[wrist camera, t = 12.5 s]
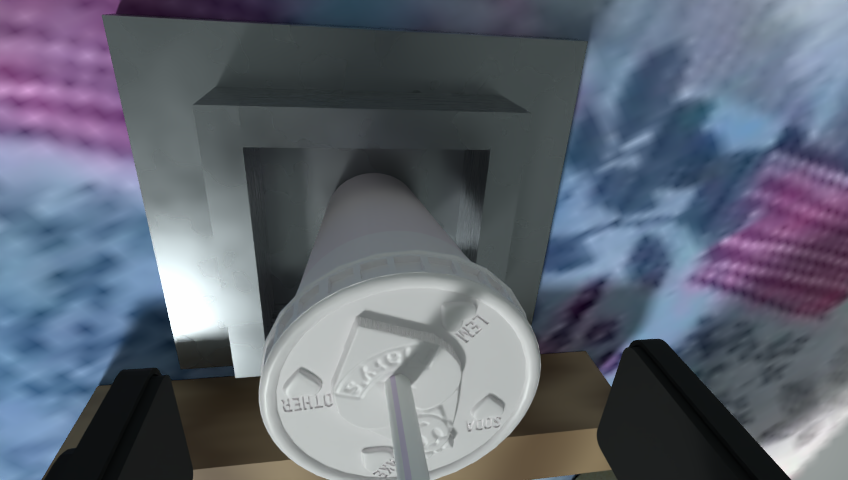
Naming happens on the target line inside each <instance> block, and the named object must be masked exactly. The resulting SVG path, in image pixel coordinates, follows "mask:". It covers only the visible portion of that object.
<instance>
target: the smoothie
mask: <svg viewBox="0 0 848 480" xmlns="http://www.w3.org/2000/svg"><path fill="white" fill-rule="evenodd" d="M540 369H541V358H540V350H539V345H538V342H537V339H536V336H535V333H534V331H533V329H532V327H531V325H530V324H529V322H528V320H527V317H526V313H525V311H524V310H523V308H522V306H521V305H520V303H519V301H518V300H517V298H516V296H515V295H514V293H513V291H512V290H511V288H509V287H508V286H507V285H506V284H505V283H503V282H502V281H501V280H500V279H499V278H498V277H496V276H495V275H494V274H493V273H492V272H490V271H489V270H488V269H487V268H485V267H482V266H480V265H478V264H475V263H473V262H471V261H470V260H469V259H468V258H467V257H466V256H465V255H464V253H463V252H462V251H461V250H460V249H459V247H458V246H457V245H456V244H455V243H454V241H453V240H452V239H451V238H450V237H449V235H448V234H447V233H446V232H445V231H444V230H443V228H442V227H441V226H440V225H439V224H438V222H437V221H436V220H435V219H434V218H433V216H432V215H431V214H430V213H429V212H428V210H427V209H426V208H425V207H424V206H423V204H422V203H421V202H420V201H419V200H418V198H417V197H416V196H415V195H414V194H413V192H412V191H411V190H410V189H409V188H408V187H407V186H406V185H405V184H404V183H403V182H402V181H400V180H398V179H397V178H395V177H392V176H390V175H386V174H381V173H366V174H361V175H358V176H355V177H353V178H351V179H349V180H347V181H346V182H344V183H343V184H342V185H340V186H339V187H338V188H337V190H336V191H335V192H334V193H333V195H332V197H331V198H330V201H329V203H328V206H327V209H326V212H325V214H324V217H323V220H322V223H321V226H320V229H319V232H318V234H317V237H316V240H315V243H314V246H313V249H312V251H311V254H310V257H309V260H308V263H307V266H306V269H305V271H304V274H303V277H302V280H301V283H300V286H299V288H298V291H297V293H296V296H295V297H294V298H293V299H292V300H291V301H290V302H289V303H288V304H287V305H286V306H285V307H284V308H283V309H282V311H281V312H280V313H279V315H278V317H277V319H276V321H275V323H274V325H273V327H272V329H271V330H270V332H269V334H268V336H267V338H266V340H265V343H264V350H263V357H262V364H261V371H260V373H261V378H260V385H259V406H260V412H261V416H262V419H263V423H264V425H265V427H266V429H267V431H268V433H269V435H270V436H271V438H272V440H273V441H274V443H275V444H276V445H277V446H278V447H279V449H280V450H281V451H282V452H283V453H284V454H285V455H286V456H287V457H288V458H290V459H291V460H292V461H294V462H295V463H296V464H298V465H299V466H301V467H303V468H304V469H306V470H308V471H310V472H312V473H314V474H315V475H317V476H320V477H323V478H326V479H329V480H435V479H438V478H441V477H443V476H446V475H449V474H451V473H454V472H457V471H458V470H460V469H462V468H464V467H466V466H468V465H470V464H472V463H474V462H476V461H477V460H479V459H480V458H482V457H483V456H485V455H486V454H487V453H489V452H490V451H492V450H493V449H495V448H496V447H497V446H498V445H499V444H500V443H501V442H502V441H503V440H504V439H505V438H506V437H507V436H509V435H510V434H511V433H512V431H513V430H514V429H515V427H516V426H517V425H518V424H519V423H520V421H521V420H522V418H523V417H524V416H525V414H526V412H527V410H528V409H529V407H530V405H531V403H532V401H533V398H534V396H535V393H536V390H537V387H538V383H539V378H540Z"/></svg>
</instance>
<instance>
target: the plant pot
mask: <svg viewBox="0 0 848 480" xmlns="http://www.w3.org/2000/svg"><path fill="white" fill-rule="evenodd" d="M575 480H617V478H616V476H615V475H614V473H613V471H612V470H606V471H598V472H590V473H582V474H580V475H579V476H578V477H577V478H576V479H575Z"/></svg>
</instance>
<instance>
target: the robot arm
mask: <svg viewBox="0 0 848 480" xmlns="http://www.w3.org/2000/svg"><path fill="white" fill-rule="evenodd" d="M597 442H598V445H599V447H600V450H601V451H602V453H603V455H604V457H605V458H606V460H607V462H608V464H609V466H610V467H611V469H612V471H613V473H614V475H615V476H616V478H617V480H791V479H790V478H789V477H788V476H787V475H786V474H785V472H784V471H783V470H782V469H781V468H780V467H779V466H778V465H777V464H776V463H775V461H774V460H773V459H772V458H771V457H770V456H769V455H768V454H767V453H766V452H765V450H764V449H763V448H762V447H761V446H760V445H759V444H758V443H757V442H756V441H755V440H754V438H753V437H752V436H751V435H750V434H749V433H748V432H747V431H746V430H745V429H744V427H743V426H742V425H741V424H740V423H739V422H738V421H737V420H736V419H735V418H734V416H733V415H732V414H731V413H730V412H729V411H728V410H727V409H726V408H725V407H724V406H723V404H722V403H721V402H720V401H719V400H718V399H717V398H716V397H715V396H714V395H713V393H712V392H711V391H710V390H709V389H708V388H707V387H706V386H705V385H704V384H703V382H702V381H701V380H700V379H699V378H698V377H697V376H696V375H695V374H694V373H693V372H692V370H691V369H690V368H689V367H688V366H687V365H686V364H685V363H684V362H683V361H682V359H681V358H680V357H679V356H678V355H677V354H676V353H675V352H674V351H673V350H672V348H671V347H670V346H669V345H668V344H667V343H666V342H665V341H663V340H661V339H647V340H635V341H633V342H632V343H631V344H630V346H629V347H627V348H626V349H625V350H624V351H623V354H622V357H621V360H620V363H619V366H618V369H617V372H616V375H615V378H614V381H613V384H612V387H611V390H610V393H609V396H608V399H607V402H606V405H605V408H604V411H603V414H602V417H601V420H600V423H599V426H598V429H597ZM44 480H193V466H192V462H191V458H190V454H189V450H188V446H187V442H186V438H185V434H184V430H183V426H182V422H181V418H180V414H179V410H178V406H177V402H176V398H175V394H174V390H173V386H172V382H171V379H170V377H169V376H168V375H161V373H160V371H159V370H158V369H157V368H145V369H127V370H122V371H120V372H119V374H118V375H117V377H116V378H115V380H114V382H113V384H112V385H111V387H110V389H109V391H108V392H107V394H106V396H105V398H104V399H103V401H102V403H101V405H100V406H99V408H98V410H97V412H96V413H95V415H94V417H93V419H92V420H91V422H90V424H89V426H88V427H87V429H86V431H85V433H84V434H83V436H82V438H81V440H80V441H79V443H78V445H77V447H76V448H71V449H67V450H66V451H64V452H63V453H62V454H61V455H60V456H59V457H58V458H57V460H56V461H55V462H54V464H53V465H52V467H51V469H50V470H49V472H48V474H47V476H46V477H45V479H44Z"/></svg>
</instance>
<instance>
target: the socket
mask: <svg viewBox="0 0 848 480" xmlns="http://www.w3.org/2000/svg"><path fill="white" fill-rule="evenodd" d="M102 18H103V23H104V27H105V32H106V36H107V41H108V45H109V50H110V54H111V59H112V63H113V68H114V72H115V77H116V81H117V86H118V90H119V95H120V99H121V104H122V108H123V113H124V117H125V122H126V126H127V131H128V135H129V140H130V144H131V149H132V153H133V158H134V162H135V166H136V171H137V175H138V180H139V184H140V189H141V193H142V198H143V202H144V207H145V211H146V216H147V220H148V225H149V229H150V234H151V238H152V243H153V247H154V252H155V256H156V261H157V265H158V270H159V274H160V279H161V283H162V288H163V292H164V297H165V301H166V306H167V310H168V314H169V319H170V323H171V328H172V332H173V337H174V341H175V346H176V350H177V355H178V359H179V364H180V368H181V369H194V368H209V367H223V366H234V372H235V378H242V377H256V376H261V373H260V371H261V364H262V357H263V350H264V343H265V340H266V338H267V336H268V334H269V332H270V330H271V329H272V327H273V325H274V323H275V321H276V319H277V317H278V315H279V313H280V312H281V311H282V309H283V308H284V307H285V306H286V305H287V304H288V303H289V302H290V301H291V300H292V299H293V298H294V297H295V296H296V293H297V291H298V288H299V286H300V283H301V280H302V277H303V274H304V271H305V269H306V266H307V263H308V260H309V257H310V254H311V251H312V249H313V246H314V243H315V240H316V237H317V234H318V232H319V229H320V226H321V223H322V220H323V217H324V214H325V212H326V209H327V206H328V203H329V201H330V198H331V197H332V195H333V193H334V192H335V191H336V190H337V188H338V187H339V186H340V185H342V184H343V183H344V182H346V181H347V180H349V179H351V178H353V177H355V176H358V175H361V174H366V173H381V174H386V175H390V176H392V177H395V178H397V179H398V180H400V181H402V182H403V183H404V184H405V185H406V186H407V187H408V188H409V189H410V190H411V191H412V192H413V194H414V195H415V196H416V197H417V198H418V200H419V201H420V202H421V203H422V204H423V206H424V207H425V208H426V209H427V210H428V212H429V213H430V214H431V215H432V216H433V218H434V219H435V220H436V221H437V222H438V224H439V225H440V226H441V227H442V228H443V230H444V231H445V232H446V233H447V234H448V235H449V237H450V238H451V239H452V240H453V241H454V243H455V244H456V245H457V246H458V247H459V249H460V250H461V251H462V252H463V253H464V255H465V256H466V257H467V258H468V259H469V260H470V261H471V262H473V263H475V264H478V265H480V266H482V267H485V268H487V269H488V270H489V271H490V272H492V273H493V274H494V275H495V276H496V277H498V278H499V279H500V280H501V281H502V282H503V283H505V284H506V285H507V286H508V287H509V288H511V290H512V291H513V293H514V295H515V296H516V298H517V300H518V301H519V303H520V305H521V306H522V308H523V310H524V311H525V313H526V317H527V320H528V322H529V324H530V325H531V324H532V319H533V314H534V309H535V304H536V299H537V294H538V289H539V284H540V279H541V274H542V269H543V264H544V259H545V254H546V249H547V244H548V239H549V234H550V229H551V224H552V219H553V214H554V209H555V204H556V199H557V194H558V189H559V184H560V179H561V174H562V168H563V163H564V158H565V153H566V148H567V143H568V138H569V133H570V128H571V123H572V118H573V113H574V108H575V103H576V98H577V93H578V88H579V83H580V78H581V73H582V68H583V63H584V58H585V53H586V48H587V43H588V41H582V40H577V39H562V38H544V37H526V36H507V35H489V34H471V33H453V32H435V31H417V30H399V29H381V28H363V27H345V26H327V25H309V24H291V23H273V22H255V21H237V20H219V19H201V18H183V17H165V16H147V15H129V14H106V15H102Z"/></svg>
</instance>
